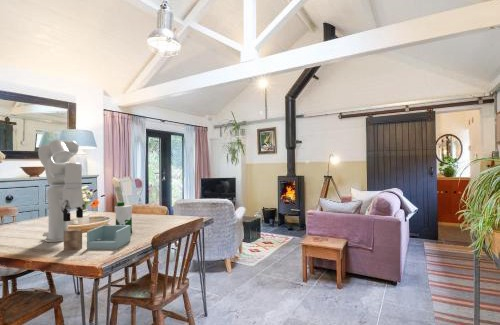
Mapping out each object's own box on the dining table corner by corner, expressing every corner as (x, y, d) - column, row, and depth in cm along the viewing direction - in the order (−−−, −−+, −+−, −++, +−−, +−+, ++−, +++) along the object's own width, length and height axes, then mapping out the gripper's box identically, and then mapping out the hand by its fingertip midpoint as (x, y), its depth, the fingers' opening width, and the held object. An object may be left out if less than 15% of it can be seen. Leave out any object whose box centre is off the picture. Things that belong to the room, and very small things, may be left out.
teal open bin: (86, 248, 140) (86, 231, 140) (103, 240, 155) (103, 225, 155) (117, 248, 140) (117, 231, 140) (130, 240, 155) (130, 225, 155)
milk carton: (122, 232, 175) (122, 201, 175) (134, 232, 173) (134, 201, 173) (112, 235, 166) (112, 203, 166) (125, 236, 164) (125, 203, 165)
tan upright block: (63, 250, 138) (63, 230, 139) (67, 248, 141) (67, 229, 141) (78, 250, 138) (78, 230, 138) (82, 248, 141) (82, 229, 141)
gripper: (77, 185, 149) (77, 216, 148) (53, 187, 131) (53, 222, 131) (90, 185, 149) (90, 216, 148) (68, 187, 131) (69, 222, 131)
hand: (73, 219), depth 140 cm, fingers open, 9 cm apart
